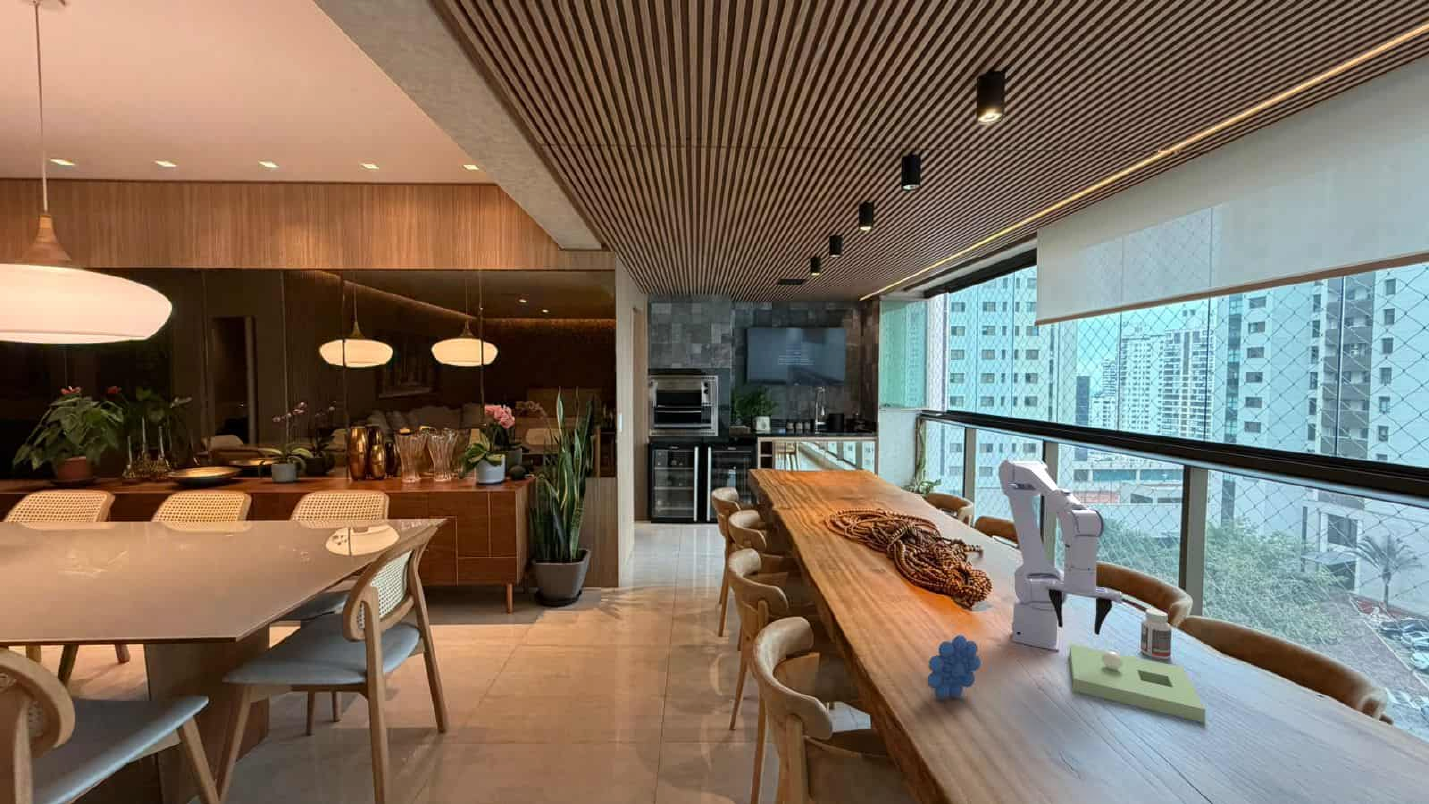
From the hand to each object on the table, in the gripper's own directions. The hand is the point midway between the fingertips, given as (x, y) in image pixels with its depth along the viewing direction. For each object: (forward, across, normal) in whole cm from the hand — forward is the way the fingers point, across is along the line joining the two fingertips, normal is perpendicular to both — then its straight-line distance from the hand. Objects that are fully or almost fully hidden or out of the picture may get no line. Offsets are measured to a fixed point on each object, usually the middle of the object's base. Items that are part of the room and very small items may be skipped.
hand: (1078, 629), depth 117 cm
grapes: (+10, -22, -24) cm, 34 cm away
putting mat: (+9, +9, 0) cm, 13 cm away
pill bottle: (+10, +16, +20) cm, 27 cm away
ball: (+5, +6, 0) cm, 8 cm away
